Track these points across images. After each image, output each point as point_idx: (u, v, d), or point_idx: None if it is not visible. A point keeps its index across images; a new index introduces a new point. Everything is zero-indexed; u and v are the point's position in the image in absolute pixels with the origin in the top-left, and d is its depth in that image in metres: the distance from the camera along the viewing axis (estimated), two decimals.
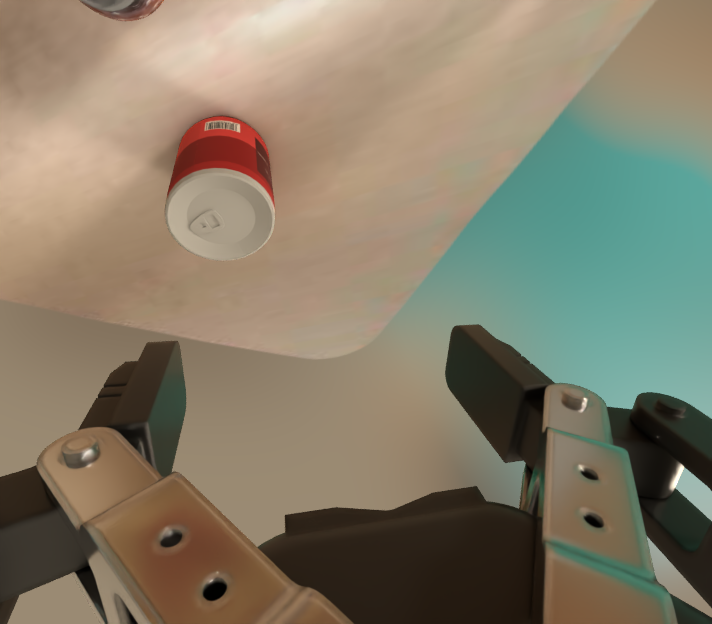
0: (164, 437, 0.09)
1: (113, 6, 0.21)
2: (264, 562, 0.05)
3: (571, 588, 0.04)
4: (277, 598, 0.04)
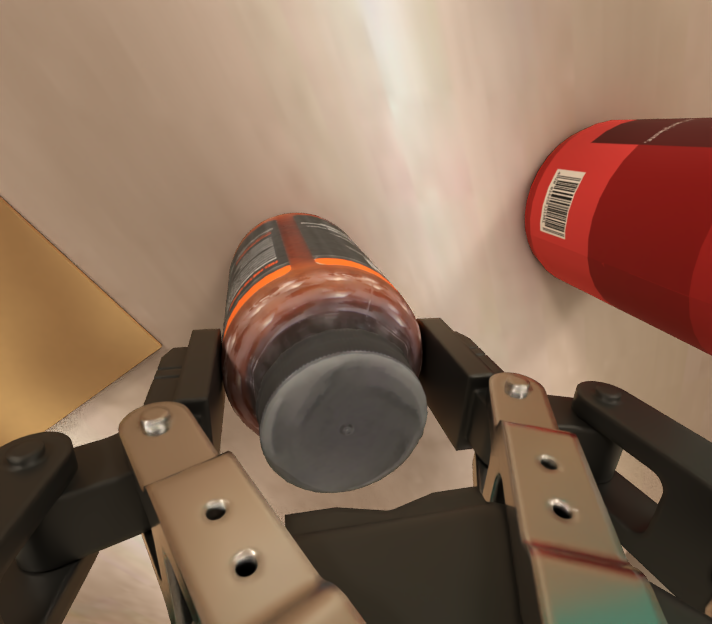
0: (216, 415, 0.10)
1: (420, 412, 0.10)
2: (264, 562, 0.05)
3: (571, 588, 0.04)
4: (301, 587, 0.04)
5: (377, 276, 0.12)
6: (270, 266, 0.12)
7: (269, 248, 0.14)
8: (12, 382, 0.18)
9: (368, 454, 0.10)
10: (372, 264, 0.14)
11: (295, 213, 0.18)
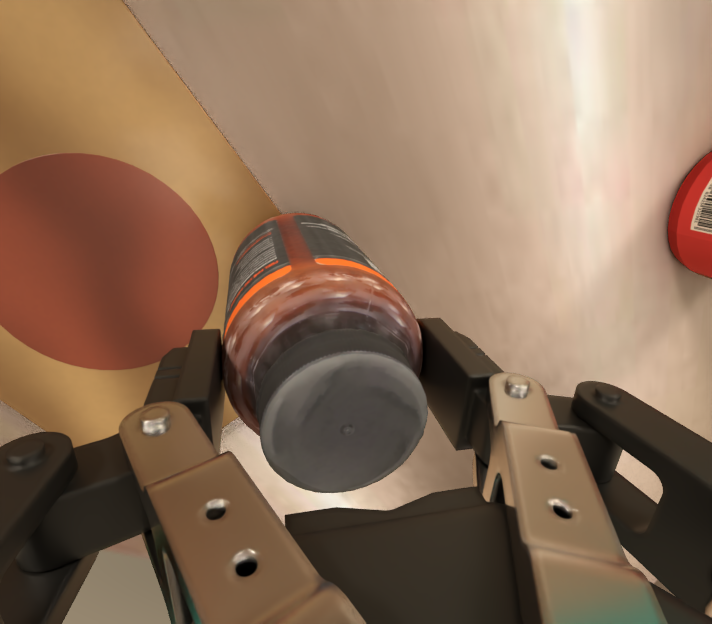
0: (216, 415, 0.10)
1: (421, 412, 0.10)
2: (264, 562, 0.05)
3: (571, 588, 0.04)
4: (301, 587, 0.04)
5: (377, 276, 0.12)
6: (271, 265, 0.12)
7: (269, 248, 0.14)
8: None
9: (368, 455, 0.10)
10: (372, 264, 0.14)
11: (295, 213, 0.18)
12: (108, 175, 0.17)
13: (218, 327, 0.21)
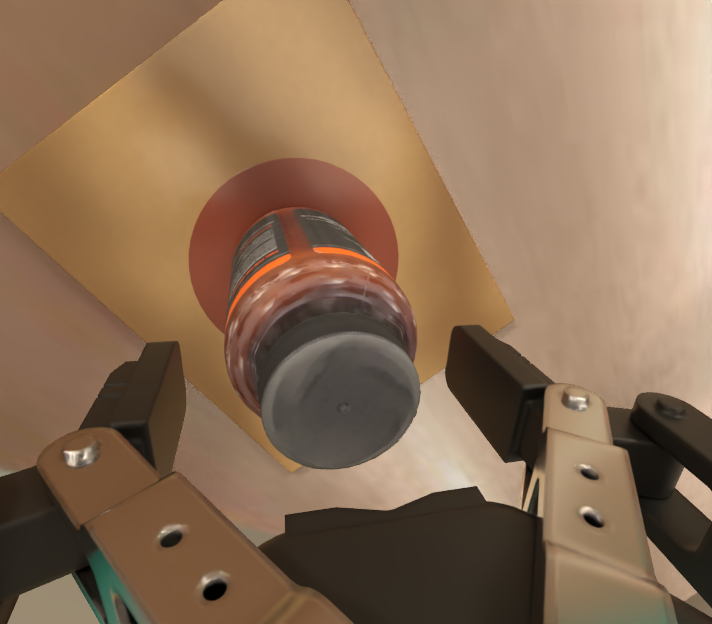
0: (164, 437, 0.09)
1: (413, 391, 0.10)
2: (264, 562, 0.05)
3: (571, 588, 0.04)
4: (277, 598, 0.04)
5: (373, 264, 0.12)
6: (271, 255, 0.13)
7: (270, 239, 0.14)
8: None
9: (363, 432, 0.10)
10: (369, 254, 0.14)
11: (296, 207, 0.18)
12: (321, 178, 0.19)
13: None
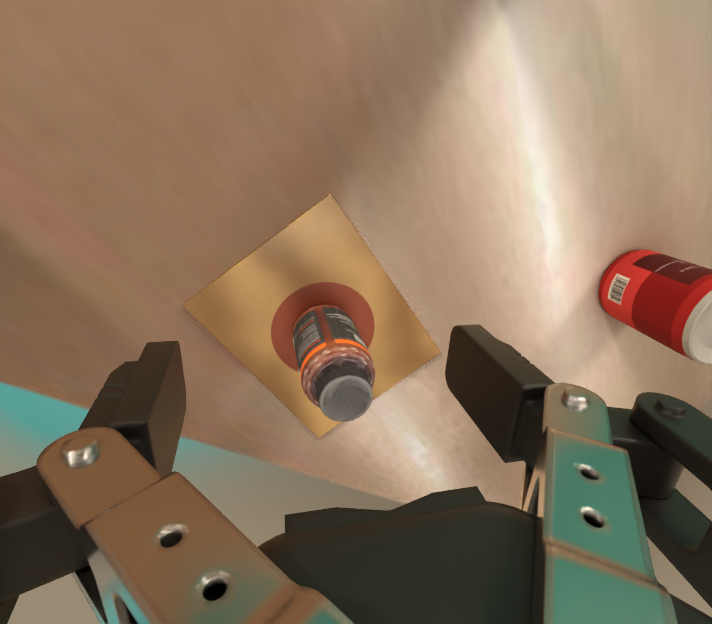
0: (165, 437, 0.09)
1: (370, 394, 0.30)
2: (264, 562, 0.05)
3: (571, 588, 0.04)
4: (277, 598, 0.04)
5: (357, 345, 0.32)
6: (317, 341, 0.33)
7: (315, 330, 0.34)
8: (382, 368, 0.43)
9: (353, 408, 0.30)
10: (356, 337, 0.34)
11: (323, 305, 0.38)
12: (334, 290, 0.39)
13: (371, 354, 0.42)
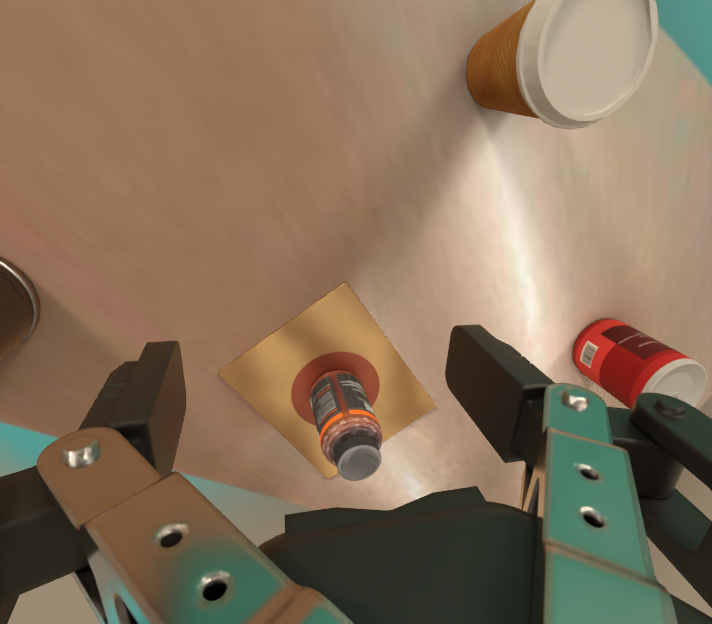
0: (165, 437, 0.09)
1: (379, 458, 0.37)
2: (264, 562, 0.05)
3: (571, 588, 0.04)
4: (277, 598, 0.04)
5: (368, 415, 0.39)
6: (334, 410, 0.39)
7: (332, 399, 0.41)
8: (385, 420, 0.50)
9: (364, 470, 0.37)
10: (366, 405, 0.40)
11: (336, 371, 0.45)
12: (346, 357, 0.45)
13: (375, 408, 0.49)
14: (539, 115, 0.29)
